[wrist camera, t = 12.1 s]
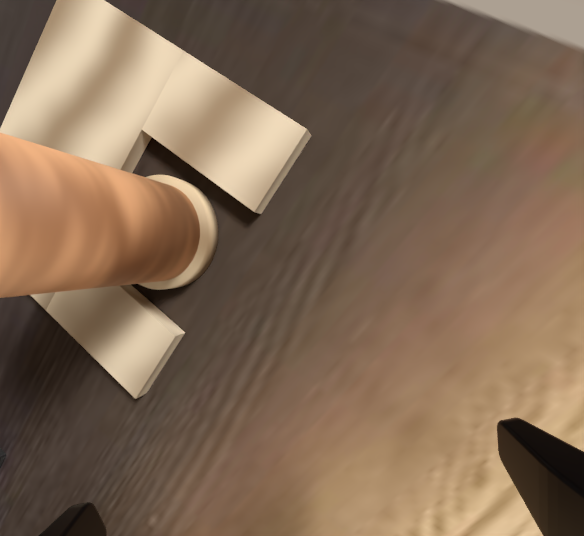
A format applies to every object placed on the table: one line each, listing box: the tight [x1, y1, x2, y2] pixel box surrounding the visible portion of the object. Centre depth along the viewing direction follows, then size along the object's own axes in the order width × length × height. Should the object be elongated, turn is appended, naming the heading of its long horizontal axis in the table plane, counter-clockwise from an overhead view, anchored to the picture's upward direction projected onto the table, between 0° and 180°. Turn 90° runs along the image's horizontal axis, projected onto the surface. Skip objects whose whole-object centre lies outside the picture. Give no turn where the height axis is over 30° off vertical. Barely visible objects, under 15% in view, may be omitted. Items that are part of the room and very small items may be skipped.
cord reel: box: [0, 133, 218, 298], centre depth 16 cm, size 7×7×13 cm
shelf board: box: [0, 0, 311, 399], centre depth 23 cm, size 20×19×1 cm
